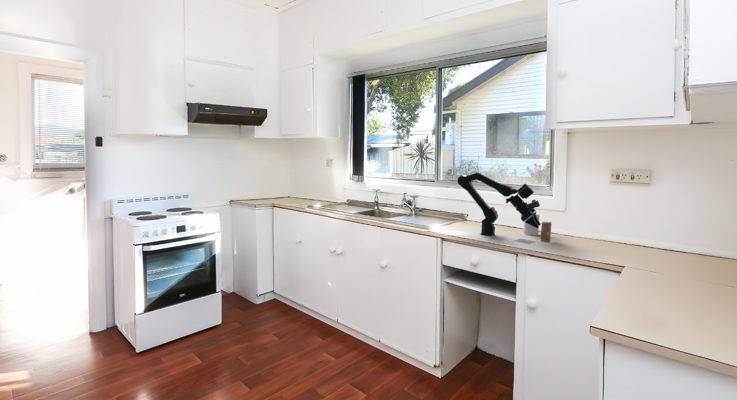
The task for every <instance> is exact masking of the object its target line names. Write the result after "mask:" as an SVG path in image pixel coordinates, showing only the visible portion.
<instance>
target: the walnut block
mask: <svg viewBox="0 0 737 400" xmlns="http://www.w3.org/2000/svg"><path fill="white" fill-rule="evenodd" d="M552 223H553V222H551V221H542V222H541V225H540V226H541V227H540V228H541V229H540V239H541V240H540V241H544V242H543V243H546V242H550V240H551V234H552Z"/></svg>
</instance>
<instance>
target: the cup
mask: <svg viewBox="0 0 737 400" xmlns="http://www.w3.org/2000/svg"><path fill="white" fill-rule="evenodd" d="M540 215H541V214H540V213H537V212H536V217H537V219H538V220H539V221H540ZM525 221H526V220H525ZM525 221H524V222H523V229H522V230H523V232H522V233H523V235H527V236H539V230H540V229H539V228H540V226H539V225H538V226H539V228H536V227H534V226H532V225H530V224H527V223H525Z"/></svg>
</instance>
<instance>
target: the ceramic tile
mask: <svg viewBox="0 0 737 400" xmlns="http://www.w3.org/2000/svg"><path fill="white" fill-rule="evenodd" d="M540 240H541V238H537V240H536V241H537V243H538V242H540V243H548V244H554V241H555V240H553V239H550V242H544V241H540Z"/></svg>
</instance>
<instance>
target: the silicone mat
mask: <svg viewBox="0 0 737 400" xmlns="http://www.w3.org/2000/svg"><path fill="white" fill-rule="evenodd" d="M513 242H517V243H521V244H526V245H530V244H534V243H536V242H537V243H538V241H537V240H536V241H535V240H530V239H524V238H518V239H515V240H513Z"/></svg>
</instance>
